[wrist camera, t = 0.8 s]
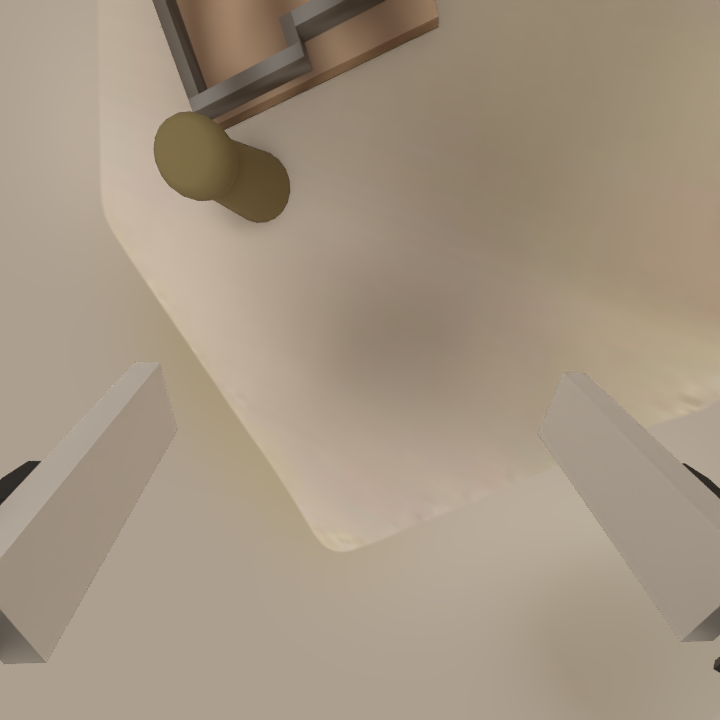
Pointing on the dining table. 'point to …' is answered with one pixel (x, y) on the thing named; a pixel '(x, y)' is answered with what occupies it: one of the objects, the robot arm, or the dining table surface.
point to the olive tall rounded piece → (220, 168)
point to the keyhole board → (278, 46)
